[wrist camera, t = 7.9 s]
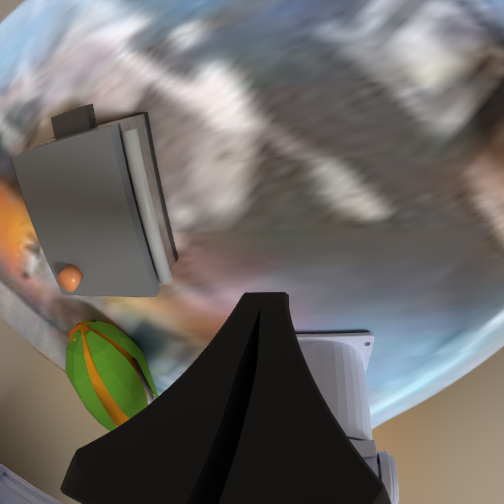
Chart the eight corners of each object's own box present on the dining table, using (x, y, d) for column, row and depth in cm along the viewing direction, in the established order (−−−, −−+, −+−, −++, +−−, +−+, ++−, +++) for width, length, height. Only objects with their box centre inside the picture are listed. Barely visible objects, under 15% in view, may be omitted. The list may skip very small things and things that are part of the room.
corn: (97, 377, 18) (163, 469, 29) (141, 308, 25) (182, 420, 35) (31, 349, 20) (110, 450, 30) (77, 294, 26) (132, 405, 36)
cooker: (182, 274, 22) (167, 303, 19) (99, 272, 23) (80, 297, 21) (144, 90, 15) (116, 96, 13) (53, 118, 17) (22, 129, 14)
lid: (176, 283, 19) (165, 308, 17) (71, 283, 20) (56, 303, 18) (138, 118, 14) (116, 126, 12) (25, 150, 15) (0, 163, 13)
